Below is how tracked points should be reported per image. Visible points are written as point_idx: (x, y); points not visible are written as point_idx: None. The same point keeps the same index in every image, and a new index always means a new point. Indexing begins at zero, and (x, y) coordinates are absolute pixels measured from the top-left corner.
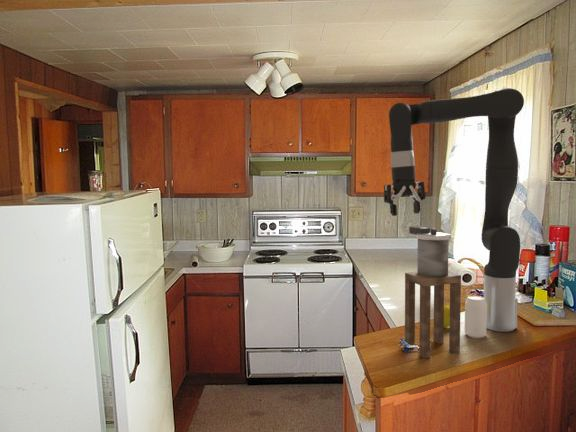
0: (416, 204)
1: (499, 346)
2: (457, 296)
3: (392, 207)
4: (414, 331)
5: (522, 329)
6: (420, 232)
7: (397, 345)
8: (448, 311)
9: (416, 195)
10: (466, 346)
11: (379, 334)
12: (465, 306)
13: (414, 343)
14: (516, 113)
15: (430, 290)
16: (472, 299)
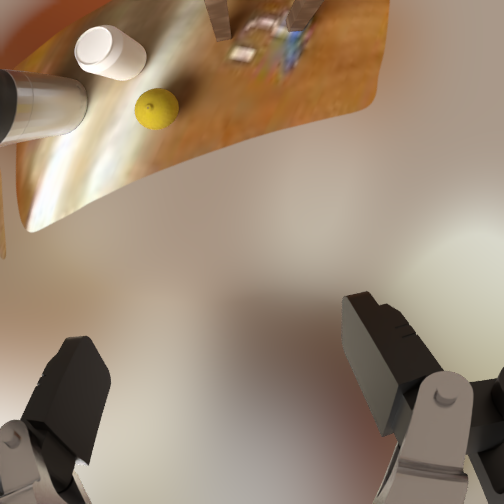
0: (61, 412)
1: (119, 11)
2: None
3: (429, 351)
4: (291, 8)
5: None
6: None
7: (313, 41)
8: (153, 90)
9: (14, 495)
10: (178, 12)
11: (326, 104)
12: (125, 50)
13: (287, 16)
14: None
15: None
16: (109, 31)
